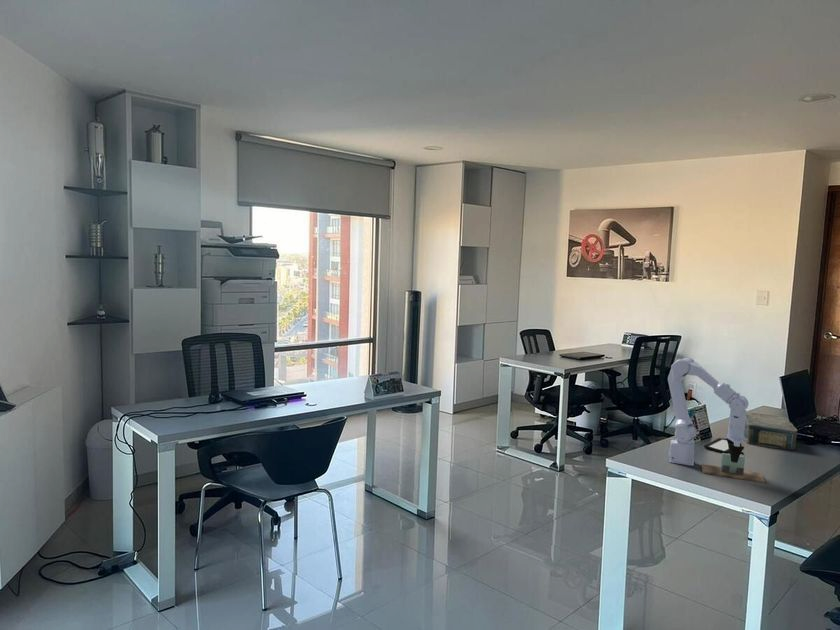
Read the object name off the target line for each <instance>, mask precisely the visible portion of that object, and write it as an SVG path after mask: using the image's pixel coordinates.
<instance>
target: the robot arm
mask: <svg viewBox="0 0 840 630" xmlns="http://www.w3.org/2000/svg"><path fill="white" fill-rule="evenodd" d="M687 375H689V376H695V377H698V378H699V380H700V379H701V381H703V382H704V383H706V384H707V385H708V386H710V387H711V388H712V389H713V393H714V394H715V395H716V396H717V397H718V398H720V400H722V401H723V402H724V403H726V404H727V405H728V408H729V409H730V414H729V420H728V429H727V436H726V438H725V439H726V440H727V442H728V448H729V453H728V454H730V456H731V462H735V463H737V462H738V459H739V456H741V452H743V451H744V449H745V446H742V445H741V446H740V444H742V442H744V441H746V442H747V438H745V436H744V430H745V420H746V413H747V409H748V407H749V405H750V404H749V400H748V399H747V397H745V396H744V395H741V394H740V392H736V390H734V389H733V388H731V385H730V384H729V383H725V382H719V381H718V380H717V379H716V378H715V377H714V376H712V374H710V373H709V372H708V371H707V370H706V369H705V368H703V366H702V365H701V364H699V363H698V362H696V361H695V360H694V359H693V358H691V357H683V358H679V359H677V360H675V361H674V362H673V363H672V364H671V366H670V370H669V374H668V376H667V383H668V387H669V391H670V396H671V401H672V404H673V405H672V407H673V411H674V415H675V420H676V421H675V423H674V425H675V432H674V437H675V439H671V440H670V445H669V446H670V447H669V452H668V458H669V460H668V463H673V464H679V465H684V466H691V467H694V466H695V462H694V451H695V440H694V438H696V437H697V435H698V433H697V432H698V431H697V428H696V427H695V426H694V423H693V420H692V419H691V418H690V415H689V410H688V406H687V401H686V396H685V391H684V390H685V389H684V387H683V386H684V385H683V382H682V381H683V380H684V379H685V377H686V376H687Z"/></svg>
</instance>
